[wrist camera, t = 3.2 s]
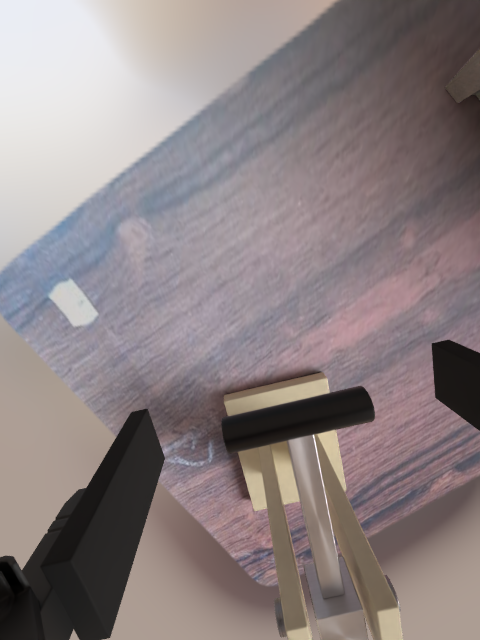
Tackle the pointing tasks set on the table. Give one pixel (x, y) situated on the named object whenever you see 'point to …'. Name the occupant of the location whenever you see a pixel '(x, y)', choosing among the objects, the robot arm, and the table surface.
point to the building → (466, 80)
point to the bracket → (280, 488)
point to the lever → (312, 493)
